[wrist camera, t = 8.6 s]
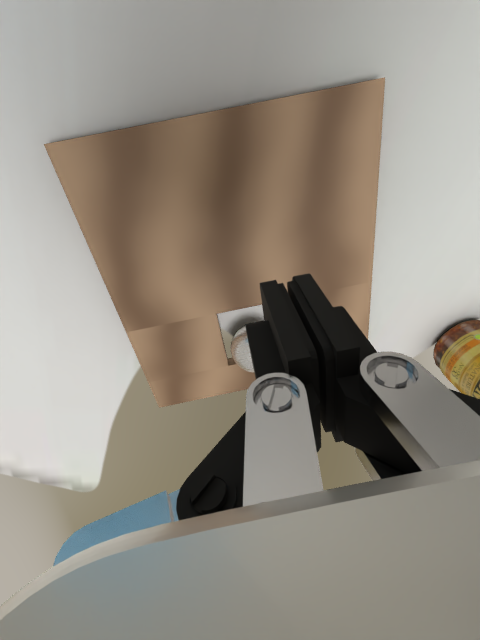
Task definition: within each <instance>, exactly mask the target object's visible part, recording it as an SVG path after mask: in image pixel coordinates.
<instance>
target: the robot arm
mask: <svg viewBox="0 0 480 640" xmlns="http://www.w3.org/2000/svg"><path fill="white" fill-rule="evenodd" d="M287 290H288V292H287ZM287 290H286V288H285V286H284V284H283V283H279V284H278V283H277V281H276V280H272V281H267V282H262V283H260V292H261V299H262V306H263V313H264V320H265V321H260V322H255V323H250V324H245V327H246V333H247V338H248V343H249V348H250V354H251V359H252V364H253V368H254V373H255V378H256V380H255V381H254V382H253V383H252V384H251V385H250V387H249V388H248V391H247V396H246V412H245V413H244V414H243V416H241V418H240V419H239V420H238V421H237V422H236V423H235V424H234V426H233V427H232V428H231V429H230V430H229V431H228V432H227V434H226V435H225V436H224V437H223V438H222V439H221V440H220V441H219V443H218V444H217V445H216V446H215V447H214V448H213V449H212V451H211V452H210V453H209V454H208V455H207V456H206V458H205V459H204V460H203V461H202V462H201V463H200V464H199V465H198V467H197V468H196V469H195V470H194V471H193V472H192V473H191V474H190V476H189V477H188V478H187V479H186V481H185V482H184V484H183V485H182V487H181V488H180V489H179V490H177V491H174V492H172V493H170V494H168V493H167V491H164V492H161V493H159V494H157V495H154V496H152V497H150V498H148V499H145V500H143V501H141V502H138V503H136V504H134V505H132V506H129V507H127V508H125V509H123V510H120V511H118V512H115V513H113V514H111V515H109V516H106V517H104V518H102V519H99V520H97V521H95V522H93V523H90V524H88V525H86V526H84V527H82V528H81V529H79V530H78V531H76V532H75V533H73V534H72V535H71V536H70V538H69V539H68V540H67V541H66V542H65V543H64V544H63V546H62V547H61V549H60V551H59V553H58V554H57V556H56V558H55V562H54V565H53V567H52V568H50V569H49V570H47V571H46V572H44V573H43V574H41V575H40V576H38V577H37V578H35V579H34V580H33V581H31V582H30V583H28V584H27V585H25V586H24V587H23V588H22V589H20V590H19V591H18V592H16V593H15V594H14V595H13V596H12V597H10V598H9V599H8V600H7V601H6V602H4V603H3V604H2V605H1V606H0V640H480V399H478V398H475V397H472V396H469V395H466V394H463V393H460V392H456V391H453V390H450V389H448V388H447V387H446V386H445V385H443V384H442V383H441V382H440V381H439V380H438V379H437V378H435V377H434V376H433V375H432V374H431V373H430V372H429V371H427V370H426V369H425V368H424V367H423V366H421V364H419V363H418V362H417V361H415V360H414V359H412V358H411V357H408V356H406V355H404V354H400V353H396V352H378V353H377V351H376V350H375V349H374V347H373V346H372V345H371V343H370V342H369V341H368V339H367V338H366V337H365V335H364V334H363V332H362V331H361V330H360V328H359V327H358V326H357V324H356V323H355V322H354V320H353V319H352V318H351V316H350V315H349V313H348V312H347V311H346V309H345V308H344V307H343V306H337V307H333V306H332V305H331V303H330V302H329V300H328V299H327V298H326V296H325V295H324V293H323V292H322V290H321V289H320V287H319V286H318V284H317V283H316V281H315V280H314V278H313V277H312V276H311V274H310V273H308V274H303V275H297V276H293V278H292V281H289V282H287ZM320 421H321V423H322V426H323V428H324V430H325V432H330V431H331V432H332V434H333V437H334V439H335V442H340V441H344V442H345V443H347V444H349V445H351V446H353V447H355V452H356V454H357V457H358V458H359V460H360V462H361V463H362V465H363V466H364V468H365V469H366V471H367V472H368V474H369V476H370V477H371V479H372V480H373V481H369V482H365V483H359V484H354V485H349V486H344V487H339V488H334V489H329V490H324V491H323V485H322V480H321V474H320V468H319V462H318V456H317V452H318V451H319V449H320V448H321V426H320Z"/></svg>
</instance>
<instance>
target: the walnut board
mask: <svg viewBox="0 0 480 640" xmlns="http://www.w3.org/2000/svg"><path fill="white" fill-rule="evenodd" d="M384 86H385V78H380V79H375V80H370V81H364V82H359V83H354V84H349V85H344V86H339V87H334V88H329V89H324V90H319V91H313V92H308V93H303V94H298V95H293V96H288V97H283V98H278V99H273V100H268V101H262V102H257V103H252V104H247V105H242V106H237V107H232V108H227V109H222V110H217V111H211V112H206V113H201V114H196V115H191V116H186V117H181V118H176V119H171V120H165V121H160V122H155V123H150V124H145V125H140V126H135V127H130V128H125V129H120V130H114V131H109V132H104V133H99V134H94V135H89V136H84V137H79V138H74V139H69V140H63V141H58V142H53V143H48V144H44V146H45V148H46V150H47V153H48V155H49V157H50V159H51V162H52V164H53V166H54V169H55V171H56V173H57V175H58V178H59V180H60V182H61V185H62V187H63V189H64V191H65V194H66V196H67V198H68V201H69V203H70V205H71V207H72V210H73V212H74V214H75V216H76V219H77V221H78V223H79V226H80V228H81V230H82V232H83V235H84V237H85V239H86V242H87V244H88V246H89V248H90V251H91V253H92V255H93V258H94V260H95V262H96V264H97V267H98V269H99V271H100V274H101V276H102V278H103V280H104V283H105V285H106V287H107V289H108V292H109V294H110V296H111V299H112V301H113V303H114V305H115V308H116V310H117V312H118V315H119V317H120V319H121V321H122V324H123V326H124V328H125V331H126V333H127V335H128V337H129V340H130V342H131V344H132V347H133V349H134V351H135V353H136V356H137V358H138V360H139V362H140V365H141V367H142V369H143V371H144V374H145V376H146V378H147V381H148V383H149V385H150V388H151V390H152V392H153V394H154V397H155V399H156V401H157V403H158V405H159V407H164V406H169V405H173V404H179V403H183V402H188V401H193V400H198V399H202V398H207V397H212V396H217V395H221V394H226V393H231V392H236V391H240V390H245V389H248V388H249V387H250V385H251V384H252V383H253V382H254V381H255V380H256V378H255V373H254V372H248V371H246V370H243V369H242V368H240V367H239V366H238V365H237V364H236V363H235V361H234V359H233V358H229V359H227V355H226V350H225V347H224V343H223V338H222V334H221V330H220V326H219V321H218V317H217V314H218V313H223V312H227V311H232V310H237V309H242V308H247V307H252V306H257V305H261V304H262V299H261V292H260V283H262V282H267V281H272V280H276V281H277V283H278V284H279V283H283V284H284V286H285V288H286V290H287V282H289V281H292V278H293V276H297V275H303V274H308V273H310V274H311V276H312V277H313V278H314V280H315V281H316V283H317V284H318V286H319V287H320V289H321V290H322V292H323V293H324V295H325V296H326V298H327V299H328V300H329V302H330V303H331V305H332V306H333V307H337V306H343V307H344V308H345V309H346V311H347V312H348V313H349V315H350V316H351V318H352V319H353V320H354V322H355V323H356V324H357V326H358V327H359V328H360V330H361V331H362V332H363V334H364V335H365V337H366V338H367V339H368V329H369V314H370V299H371V284H372V268H373V253H374V238H375V223H376V208H377V192H378V177H379V162H380V147H381V132H382V116H383V101H384ZM287 292H288V290H287Z"/></svg>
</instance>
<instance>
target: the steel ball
mask: <svg viewBox="0 0 480 640" xmlns="http://www.w3.org/2000/svg"><path fill="white" fill-rule="evenodd" d="M231 354H232V357H233V359H234V361H235V363H236V364H237V365H238V366H239V367H240V368H242V369H243V370H246V371H248V372H254V368H253V364H252V359H251V354H250V348H249V343H248V338H247V333H246V327H245V326H244V327H242V328H241V329H239V330H238V331H237V332H236V334H235V335H234V337H233V339H232V343H231Z"/></svg>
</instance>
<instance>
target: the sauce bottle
mask: <svg viewBox="0 0 480 640" xmlns="http://www.w3.org/2000/svg"><path fill="white" fill-rule="evenodd" d="M434 359H435V363H436V365H437V366H438V367H439V368H440V369H441V371H442V373H443V374H444V375H445V376H446V378H447V379H448V380H449V381H450V382H451V383H452V384H453V385H454V386H455V387H456V388H457V389H458V390H459V391H460V392H461V393H463V394H466V395H469V396H472V397H475V398H478V399H480V320H470V321H465V322H461V323H459V324H458V325H456V326H454V327H453V328H451V329H449V330H448V331H447V332H446V333H445V334H443V335H442V337H441V338H440V339H439V340H438V341H437V343H436V344H435V348H434Z"/></svg>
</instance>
